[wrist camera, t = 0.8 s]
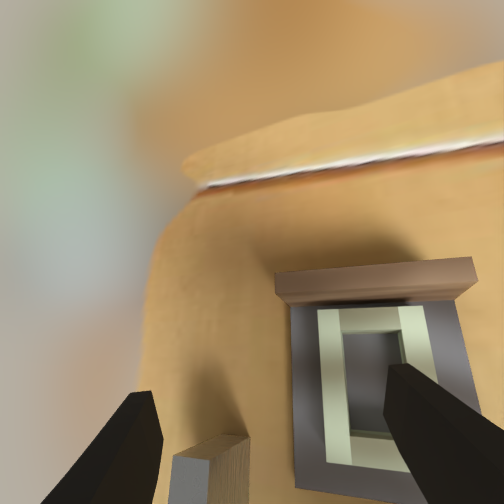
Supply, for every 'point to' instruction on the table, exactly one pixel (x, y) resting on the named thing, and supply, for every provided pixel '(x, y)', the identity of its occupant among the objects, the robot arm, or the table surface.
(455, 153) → the table surface
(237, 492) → the thick gray slab
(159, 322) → the table surface
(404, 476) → the gray base with frame
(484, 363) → the table surface
